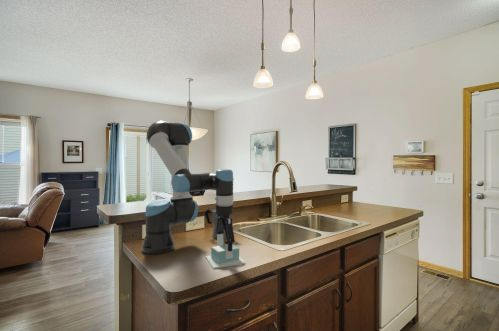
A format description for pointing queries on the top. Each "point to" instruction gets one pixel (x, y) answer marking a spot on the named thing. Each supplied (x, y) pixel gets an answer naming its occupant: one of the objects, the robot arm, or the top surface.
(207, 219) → the coffeepot
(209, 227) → the top surface
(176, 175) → the robot arm
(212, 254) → the light blue block
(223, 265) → the mat
